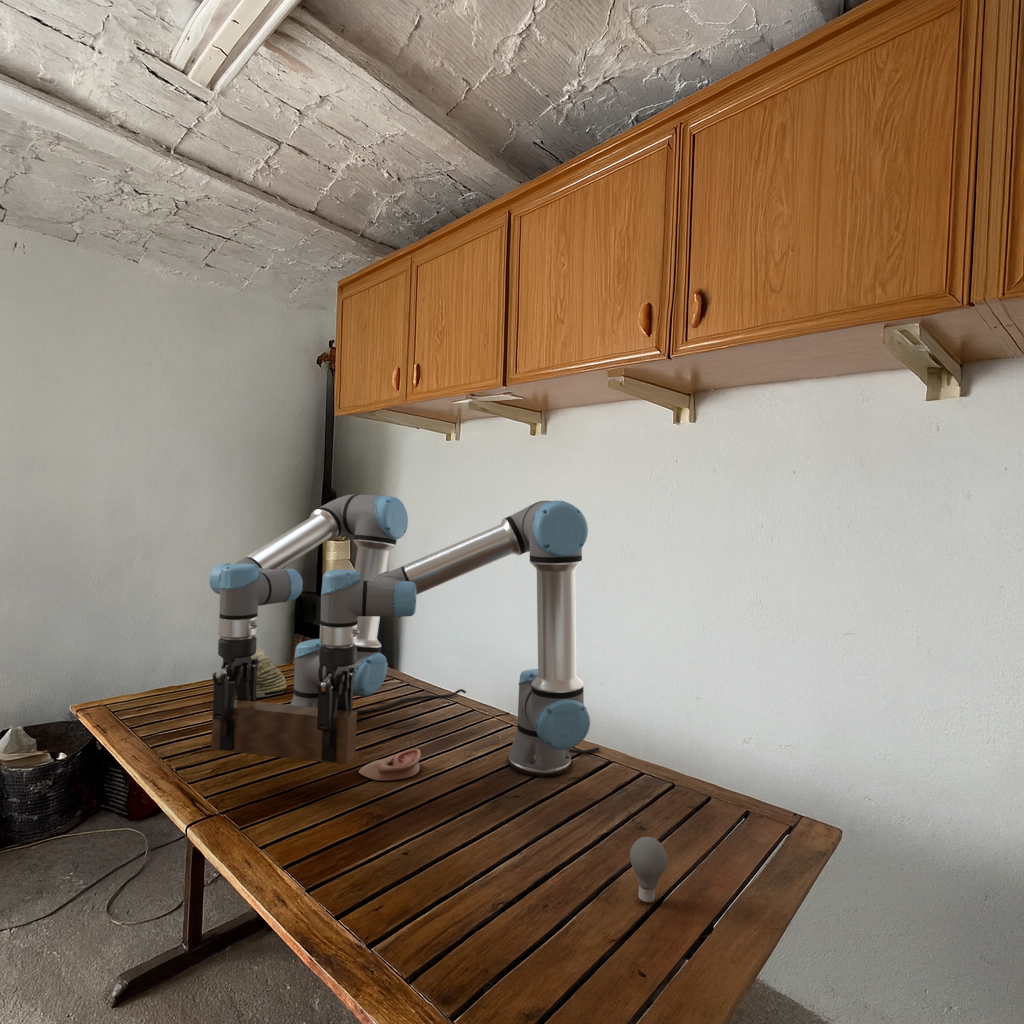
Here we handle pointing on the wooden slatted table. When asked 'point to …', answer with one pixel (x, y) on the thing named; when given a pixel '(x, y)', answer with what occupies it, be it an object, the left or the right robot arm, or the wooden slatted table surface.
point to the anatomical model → (393, 766)
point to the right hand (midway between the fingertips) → (334, 755)
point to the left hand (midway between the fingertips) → (234, 744)
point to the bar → (286, 732)
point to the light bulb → (648, 865)
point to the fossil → (267, 676)
